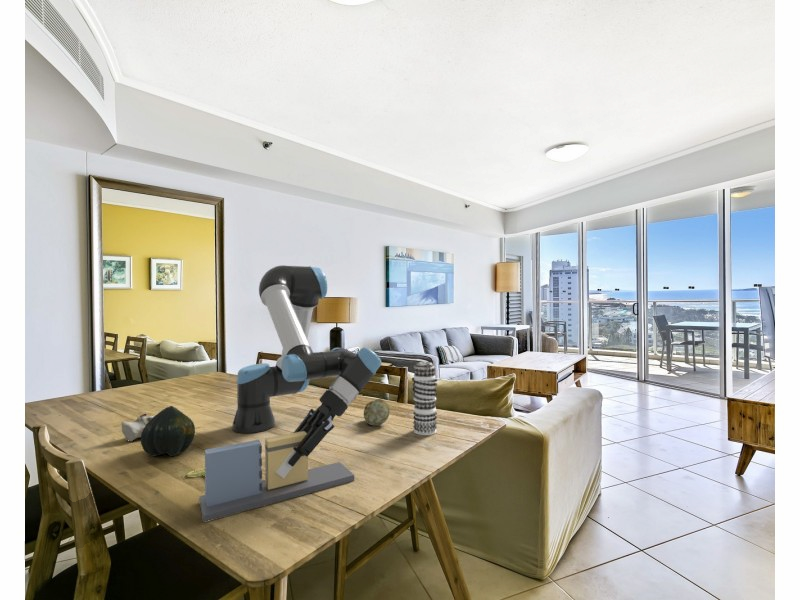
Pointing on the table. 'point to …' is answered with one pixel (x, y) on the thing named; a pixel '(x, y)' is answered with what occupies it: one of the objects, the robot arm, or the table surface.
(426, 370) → the white patterned cylinder
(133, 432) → the ceramic sculpture
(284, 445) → the tan cardboard parcel
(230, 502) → the base
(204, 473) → the key
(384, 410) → the seashell
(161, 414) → the squash
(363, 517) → the table surface
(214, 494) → the blue square panel
